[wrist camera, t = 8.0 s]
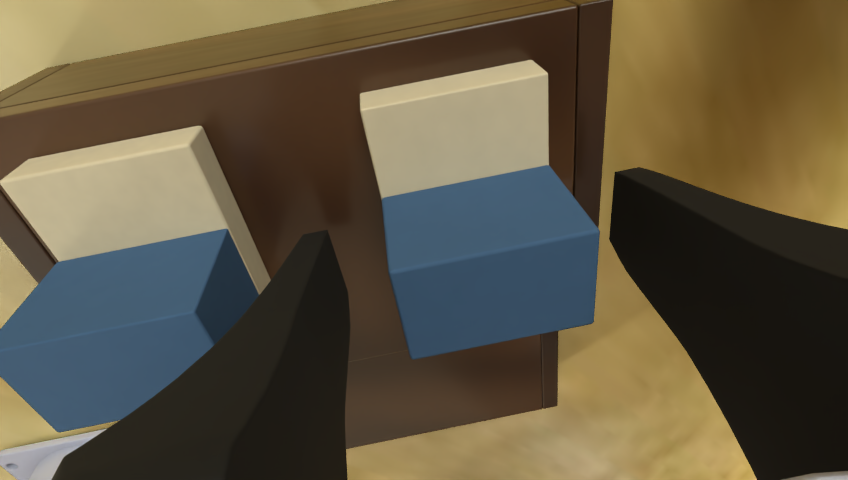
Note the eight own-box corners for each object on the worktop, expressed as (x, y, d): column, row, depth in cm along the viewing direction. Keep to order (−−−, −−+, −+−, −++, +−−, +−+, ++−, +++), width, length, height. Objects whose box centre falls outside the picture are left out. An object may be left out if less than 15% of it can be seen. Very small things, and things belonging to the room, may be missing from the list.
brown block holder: (544, 373, 27) (583, 468, 22) (263, 430, 27) (244, 537, 22) (536, -28, 15) (614, -3, 11) (46, 67, 15) (-85, 134, 11)
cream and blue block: (303, 351, 16) (289, 472, 12) (179, 376, 16) (130, 504, 12) (202, 123, 11) (137, 215, 8) (27, 158, 11) (-116, 265, 8)
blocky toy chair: (538, 303, 16) (588, 410, 13) (414, 328, 16) (432, 443, 13) (532, 58, 11) (608, 121, 8) (358, 92, 11) (361, 170, 8)
